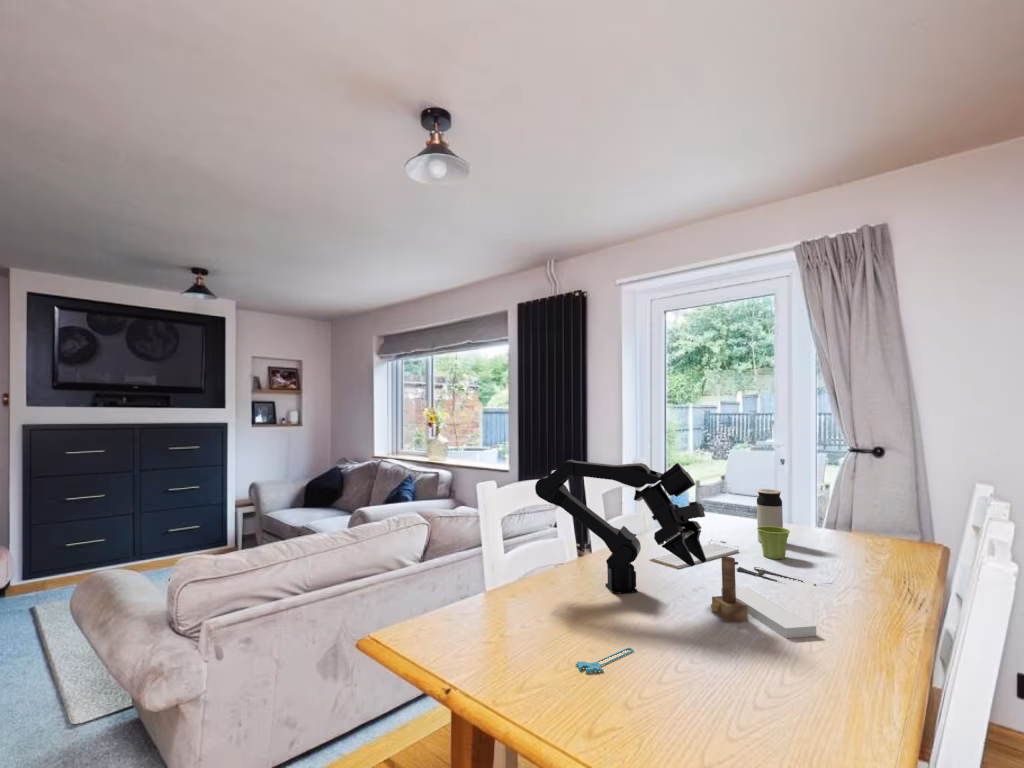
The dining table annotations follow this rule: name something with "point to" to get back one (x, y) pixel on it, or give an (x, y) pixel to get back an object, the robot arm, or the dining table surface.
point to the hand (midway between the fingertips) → (699, 563)
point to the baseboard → (709, 552)
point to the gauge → (729, 596)
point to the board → (774, 615)
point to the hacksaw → (762, 573)
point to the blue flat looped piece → (595, 665)
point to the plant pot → (773, 541)
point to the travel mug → (769, 509)
